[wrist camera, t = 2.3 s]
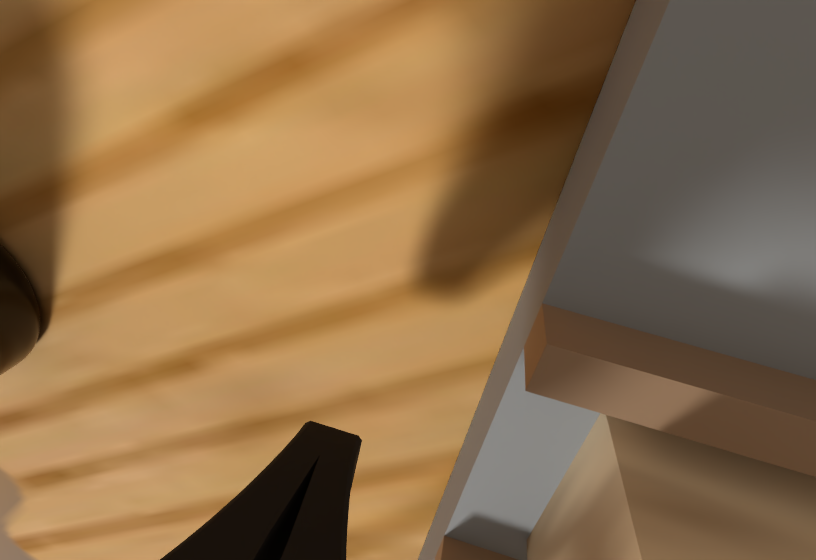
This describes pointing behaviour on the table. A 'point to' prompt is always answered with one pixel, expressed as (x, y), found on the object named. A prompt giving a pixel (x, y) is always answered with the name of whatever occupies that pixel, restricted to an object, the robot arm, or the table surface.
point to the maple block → (673, 502)
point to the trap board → (662, 270)
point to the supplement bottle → (16, 313)
